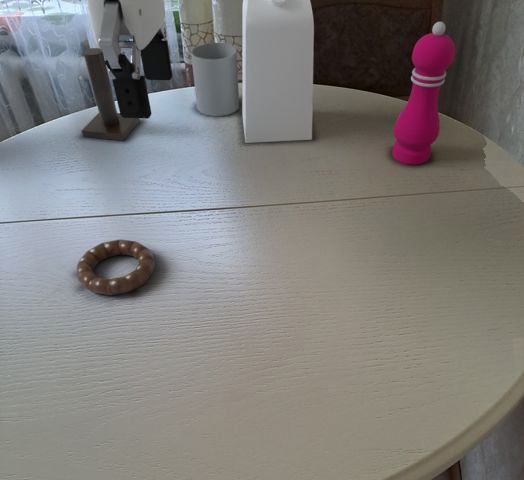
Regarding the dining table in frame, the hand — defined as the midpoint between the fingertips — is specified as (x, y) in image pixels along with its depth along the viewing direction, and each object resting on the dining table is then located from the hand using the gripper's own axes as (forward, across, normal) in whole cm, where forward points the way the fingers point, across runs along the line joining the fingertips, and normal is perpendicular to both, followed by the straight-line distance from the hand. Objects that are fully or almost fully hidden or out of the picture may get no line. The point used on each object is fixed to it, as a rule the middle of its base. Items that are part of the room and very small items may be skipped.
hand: (148, 96), depth 55 cm
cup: (+20, -44, -1) cm, 49 cm away
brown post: (+20, -34, -20) cm, 44 cm away
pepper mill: (+21, -28, +35) cm, 49 cm away
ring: (+19, +6, -6) cm, 21 cm away
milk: (+20, -37, +11) cm, 43 cm away
